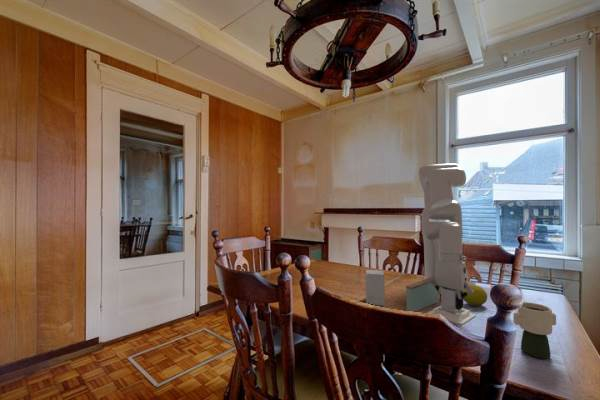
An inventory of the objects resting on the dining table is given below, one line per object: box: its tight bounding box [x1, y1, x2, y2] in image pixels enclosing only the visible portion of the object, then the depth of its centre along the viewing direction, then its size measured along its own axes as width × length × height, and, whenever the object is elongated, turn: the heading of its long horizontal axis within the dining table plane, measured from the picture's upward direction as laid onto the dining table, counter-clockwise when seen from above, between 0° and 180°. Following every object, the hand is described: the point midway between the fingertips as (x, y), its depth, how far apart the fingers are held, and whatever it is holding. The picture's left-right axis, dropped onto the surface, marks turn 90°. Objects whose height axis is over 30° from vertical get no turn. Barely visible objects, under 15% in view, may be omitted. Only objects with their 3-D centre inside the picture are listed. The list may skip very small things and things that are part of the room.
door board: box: [405, 277, 439, 313], centre depth 110 cm, size 20×2×10 cm, turn 127°
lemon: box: [463, 284, 488, 307], centre depth 111 cm, size 11×8×8 cm
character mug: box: [513, 301, 557, 359], centre depth 75 cm, size 11×7×13 cm, turn 87°
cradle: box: [427, 305, 477, 326], centre depth 101 cm, size 12×12×2 cm
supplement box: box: [365, 269, 386, 306], centre depth 115 cm, size 7×7×13 cm
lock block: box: [440, 287, 462, 314], centre depth 101 cm, size 5×5×8 cm
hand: (451, 306), depth 101 cm, fingers closed on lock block, 5 cm apart
